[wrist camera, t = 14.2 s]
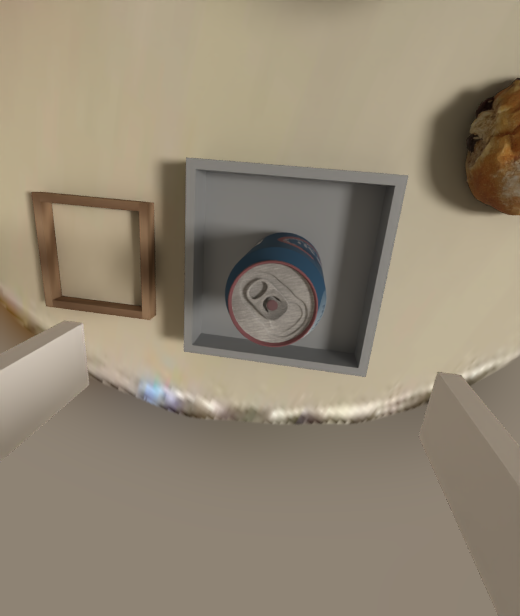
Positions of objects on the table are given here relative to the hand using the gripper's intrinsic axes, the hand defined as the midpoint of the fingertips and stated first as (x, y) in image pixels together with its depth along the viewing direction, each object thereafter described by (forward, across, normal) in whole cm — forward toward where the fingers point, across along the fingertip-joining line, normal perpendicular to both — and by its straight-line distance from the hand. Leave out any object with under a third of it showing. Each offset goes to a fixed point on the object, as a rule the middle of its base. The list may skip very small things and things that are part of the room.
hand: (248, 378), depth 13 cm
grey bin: (+22, 0, 0) cm, 22 cm away
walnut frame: (+22, -19, -1) cm, 29 cm away
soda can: (+21, 0, 0) cm, 21 cm away
